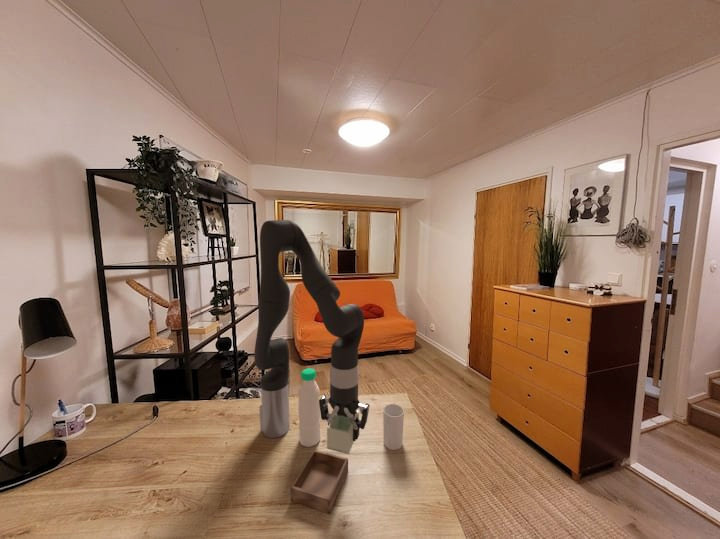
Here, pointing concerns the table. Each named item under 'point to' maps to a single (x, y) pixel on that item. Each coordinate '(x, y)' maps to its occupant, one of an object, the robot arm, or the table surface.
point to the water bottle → (309, 409)
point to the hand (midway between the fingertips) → (343, 435)
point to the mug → (393, 426)
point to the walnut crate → (320, 481)
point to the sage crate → (340, 434)
